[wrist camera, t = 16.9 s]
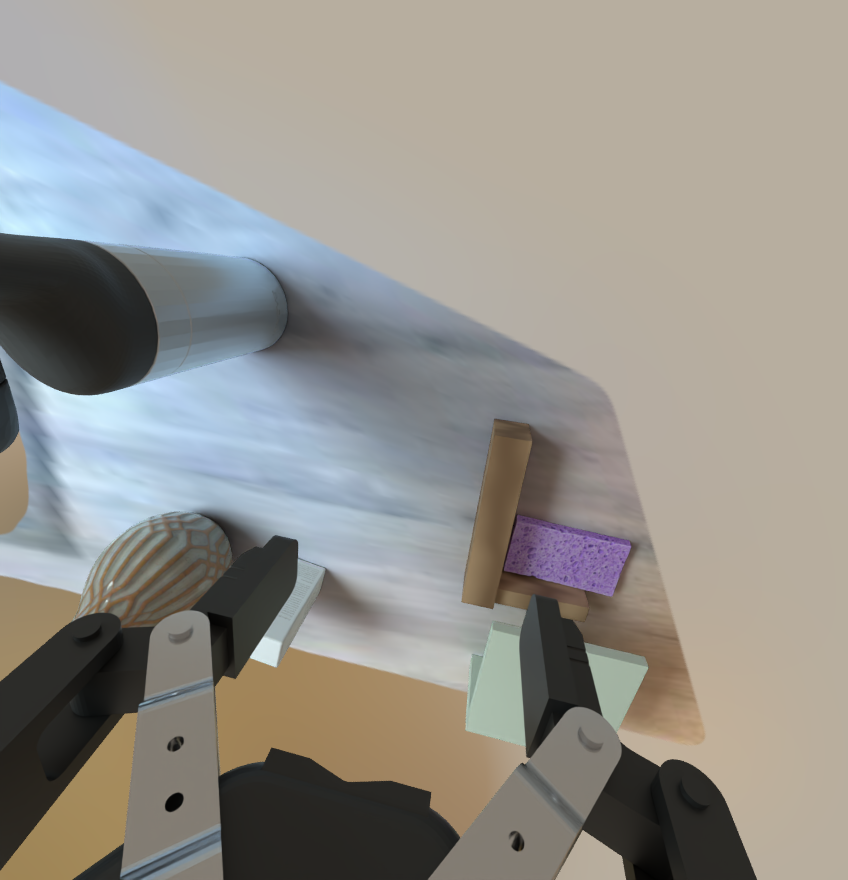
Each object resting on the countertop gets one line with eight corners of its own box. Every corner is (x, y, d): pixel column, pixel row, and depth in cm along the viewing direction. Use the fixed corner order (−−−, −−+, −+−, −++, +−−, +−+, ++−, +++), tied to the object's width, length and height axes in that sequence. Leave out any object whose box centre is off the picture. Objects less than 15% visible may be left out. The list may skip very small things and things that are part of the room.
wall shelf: (469, 665, 55) (464, 733, 46) (493, 570, 49) (492, 629, 40) (583, 693, 53) (598, 769, 45) (622, 599, 47) (648, 667, 39)
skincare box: (279, 576, 55) (224, 650, 44) (284, 552, 53) (228, 622, 42) (321, 591, 54) (276, 670, 43) (327, 568, 53) (282, 642, 42)
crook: (464, 572, 49) (461, 602, 45) (494, 418, 42) (494, 435, 37) (577, 596, 48) (586, 629, 43) (629, 440, 40) (646, 460, 36)
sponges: (516, 512, 46) (517, 520, 44) (630, 537, 45) (635, 548, 43) (502, 561, 49) (502, 571, 47) (609, 587, 47) (613, 598, 46)
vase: (262, 576, 55) (166, 696, 39) (181, 577, 58) (60, 690, 42) (232, 491, 51) (110, 586, 35) (146, 497, 54) (-4, 588, 38)
